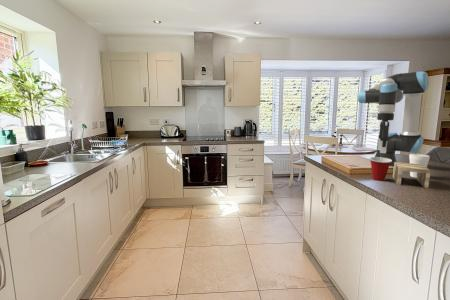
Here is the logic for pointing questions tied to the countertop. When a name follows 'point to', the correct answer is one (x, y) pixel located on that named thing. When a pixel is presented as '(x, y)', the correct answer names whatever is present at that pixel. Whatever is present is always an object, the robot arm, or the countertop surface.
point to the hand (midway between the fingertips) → (381, 151)
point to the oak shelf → (421, 170)
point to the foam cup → (418, 161)
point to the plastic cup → (379, 167)
